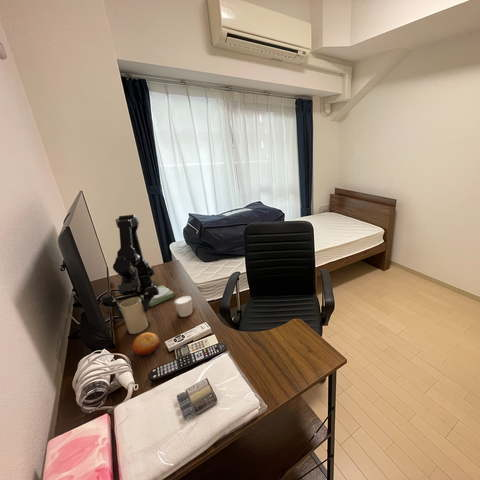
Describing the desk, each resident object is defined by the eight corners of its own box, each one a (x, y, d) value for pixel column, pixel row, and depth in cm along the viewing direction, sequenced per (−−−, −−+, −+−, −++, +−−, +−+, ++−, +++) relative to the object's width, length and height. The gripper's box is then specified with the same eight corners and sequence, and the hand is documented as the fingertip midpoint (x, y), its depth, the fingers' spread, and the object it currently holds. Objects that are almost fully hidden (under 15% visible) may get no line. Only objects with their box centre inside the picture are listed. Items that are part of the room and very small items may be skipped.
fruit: (139, 339, 97) (145, 325, 95) (158, 348, 99) (165, 334, 96) (123, 356, 90) (129, 341, 87) (144, 365, 91) (151, 350, 88)
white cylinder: (197, 308, 118) (194, 296, 115) (188, 318, 112) (185, 304, 109) (183, 307, 119) (180, 295, 116) (174, 317, 112) (170, 304, 110)
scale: (140, 298, 126) (139, 293, 125) (163, 288, 134) (162, 284, 133) (150, 306, 119) (149, 301, 118) (174, 296, 128) (173, 291, 127)
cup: (126, 329, 105) (116, 303, 100) (144, 320, 110) (136, 295, 105) (132, 336, 101) (123, 309, 96) (150, 327, 106) (143, 301, 102)
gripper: (94, 279, 96) (96, 319, 91) (151, 268, 104) (156, 305, 99) (105, 287, 105) (107, 324, 100) (157, 277, 114) (161, 310, 109)
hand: (133, 316), depth 102 cm, fingers open, 8 cm apart
